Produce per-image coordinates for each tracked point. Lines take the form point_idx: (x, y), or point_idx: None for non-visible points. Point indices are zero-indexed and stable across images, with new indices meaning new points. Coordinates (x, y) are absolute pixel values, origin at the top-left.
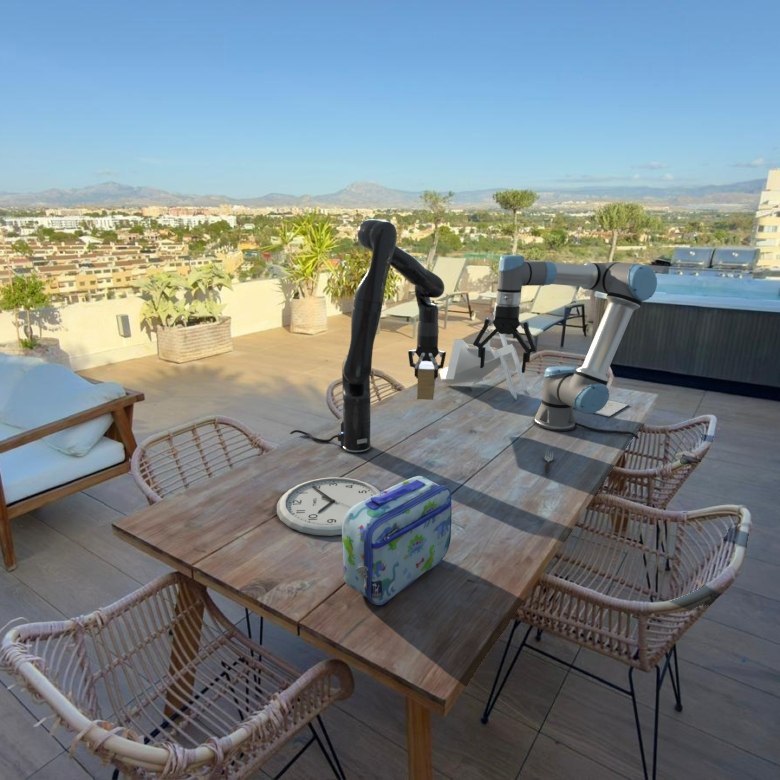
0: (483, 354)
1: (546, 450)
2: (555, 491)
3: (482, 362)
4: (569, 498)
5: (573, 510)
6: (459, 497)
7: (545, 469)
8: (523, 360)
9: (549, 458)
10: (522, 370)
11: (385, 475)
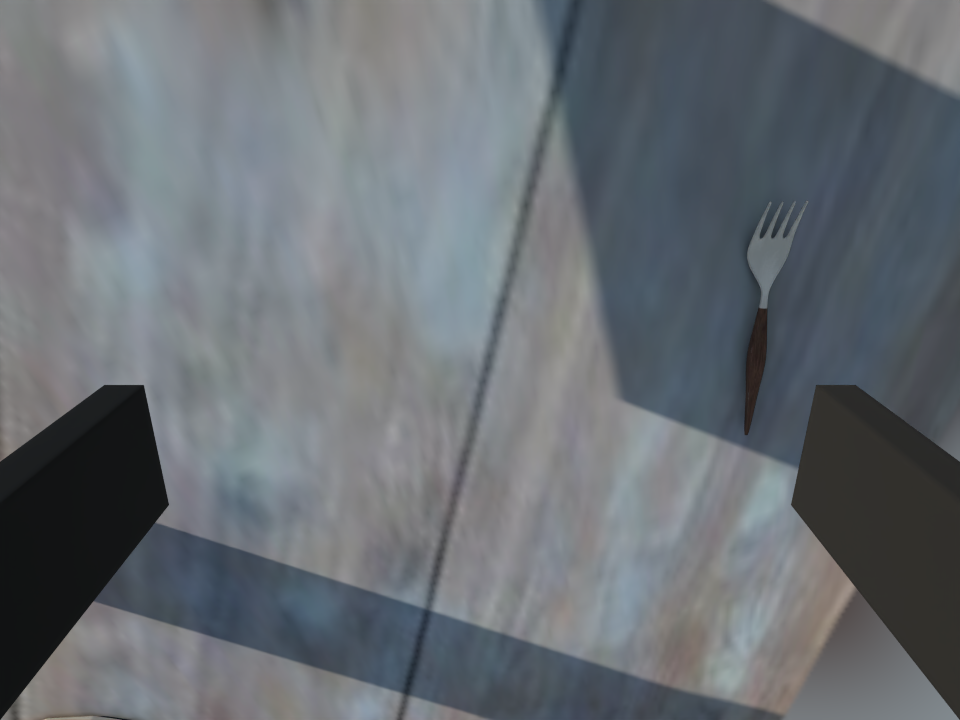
0: (15, 687)
1: (768, 208)
2: (773, 537)
3: (113, 566)
4: (820, 567)
5: (822, 633)
6: (444, 684)
7: (746, 389)
8: (931, 666)
9: (773, 250)
10: (818, 528)
11: (142, 645)
